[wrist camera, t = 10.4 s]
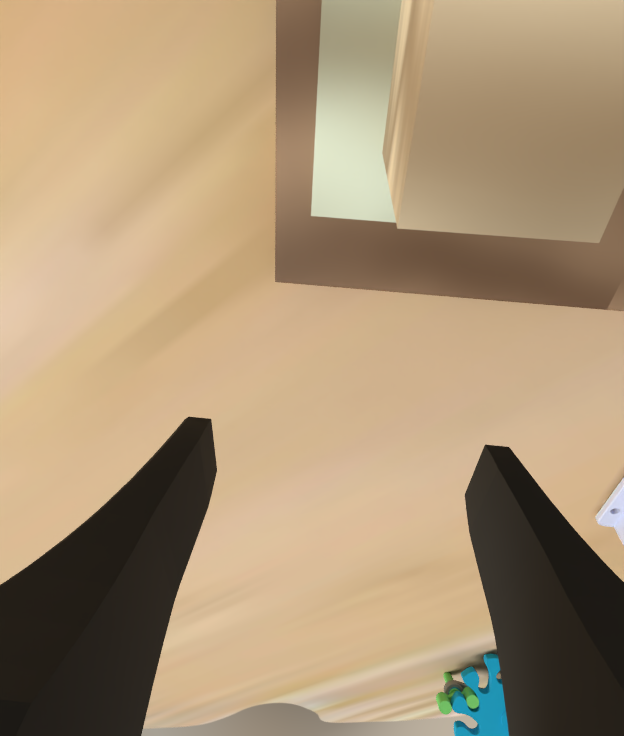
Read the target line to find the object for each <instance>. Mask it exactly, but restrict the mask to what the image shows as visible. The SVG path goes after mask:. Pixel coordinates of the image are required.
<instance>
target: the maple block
mask: <svg viewBox="0 0 624 736" xmlns="http://www.w3.org/2000/svg"><path fill="white" fill-rule="evenodd" d="M382 154H383V159H384V164H385V169H386V174H387V179H388V184H389V189H390V194H391V199H392V204H393V209H394V214H395V219H396V224H397V229H411V230H425V231H438V232H452V233H466V234H480V235H493V236H507V237H521V238H535V239H549V240H562V241H576V242H590V243H599V242H600V240H601V238H602V235H603V233H604V231H605V229H606V226H607V224H608V222H609V220H610V217H611V215H612V213H613V211H614V208H615V206H616V204H617V202H618V199H619V197H620V195H621V193H622V190H623V188H624V0H402V2H401V10H400V18H399V25H398V33H397V41H396V49H395V57H394V65H393V72H392V80H391V88H390V96H389V104H388V111H387V119H386V127H385V135H384V143H383V151H382Z"/></svg>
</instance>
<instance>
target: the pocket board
mask: <svg viewBox="0 0 624 736" xmlns="http://www.w3.org/2000/svg"><path fill="white" fill-rule="evenodd" d="M401 2H402V0H276V245H275V282H283V283H295V284H306V285H318V286H330V287H342V288H354V289H366V290H378V291H390V292H402V293H414V294H426V295H438V296H450V297H461V298H473V299H485V300H497V301H509V302H521V303H533V304H545V305H557V306H569V307H581V308H593V309H604V310H616V311H624V188H623V190H622V193H621V195H620V197H619V199H618V202H617V204H616V206H615V208H614V211H613V213H612V215H611V217H610V220H609V222H608V224H607V226H606V229H605V231H604V233H603V235H602V238H601V240H600V242H599V243H590V242H576V241H562V240H549V239H535V238H521V237H507V236H493V235H480V234H466V233H452V232H438V231H425V230H411V229H397V224H396V219H395V214H394V209H393V204H392V199H391V194H390V189H389V184H388V179H387V174H386V169H385V164H384V159H383V154H382V151H383V143H384V135H385V127H386V119H387V111H388V104H389V96H390V88H391V80H392V72H393V65H394V57H395V49H396V41H397V33H398V25H399V18H400V10H401Z"/></svg>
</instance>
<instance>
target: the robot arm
mask: <svg viewBox="0 0 624 736" xmlns="http://www.w3.org/2000/svg"><path fill="white" fill-rule="evenodd" d="M216 472H217V466H216V458H215V449H214V440H213V431H212V422H211V419H206V418H195V417H188V418H186V419H185V420H184V421H183V422H182V424H181V425H180V426H179V427H178V428H177V429H176V431H175V432H174V433H173V434H172V435H171V436H170V438H169V439H168V440H167V441H166V442H165V443H164V444H163V446H162V447H161V448H160V449H159V450H158V451H157V452H156V453H155V454H154V456H153V457H152V458H151V459H150V460H149V461H148V462H147V463H146V464H145V465H144V466H143V467H142V468H141V469H140V470H139V471H138V472H137V473H136V474H135V476H134V477H133V478H132V479H131V480H130V481H129V482H128V483H127V484H126V485H124V486H123V487H122V488H121V489H120V490H119V491H118V492H117V493H116V494H115V495H114V496H113V497H112V498H111V499H110V500H109V501H108V502H107V503H106V504H105V505H103V506H102V507H101V508H100V509H99V510H98V511H97V512H96V513H95V514H93V515H92V516H91V517H90V518H89V519H88V520H86V521H85V522H84V523H83V524H82V525H81V526H79V527H78V528H77V529H76V530H75V531H73V532H72V533H71V534H70V535H68V536H67V537H66V538H65V539H63V540H62V541H61V542H59V543H58V544H57V545H56V546H54V547H53V548H52V549H50V550H49V551H48V552H46V553H45V554H44V555H43V556H41V557H40V558H39V559H37V560H36V561H34V562H33V563H32V564H30V565H29V566H28V567H26V568H25V569H23V570H22V571H20V572H19V573H18V574H16V575H15V576H13V577H12V578H10V579H9V580H7V581H6V582H4V583H3V584H1V585H0V736H141V734H142V729H143V725H144V721H145V716H146V712H147V708H148V704H149V699H150V695H151V691H152V686H153V682H154V678H155V674H156V670H157V666H158V662H159V658H160V654H161V650H162V646H163V642H164V638H165V635H166V631H167V627H168V623H169V619H170V616H171V612H172V608H173V604H174V601H175V598H176V595H177V592H178V589H179V585H180V583H181V580H182V577H183V574H184V572H185V569H186V566H187V564H188V561H189V558H190V555H191V553H192V550H193V547H194V545H195V542H196V539H197V536H198V534H199V531H200V528H201V525H202V523H203V520H204V517H205V514H206V511H207V509H208V506H209V502H210V498H211V494H212V490H213V485H214V481H215V477H216ZM465 500H466V509H467V518H468V525H469V532H470V537H471V541H472V545H473V549H474V553H475V557H476V561H477V565H478V569H479V573H480V577H481V581H482V585H483V589H484V592H485V596H486V600H487V604H488V608H489V612H490V616H491V620H492V625H493V630H494V634H495V640H496V646H497V653H498V659H499V666H500V672H501V679H502V686H503V693H504V701H505V708H506V716H507V723H508V732H509V736H624V582H623V581H622V580H621V579H620V578H619V577H618V576H617V575H616V574H615V573H614V572H613V571H612V570H611V569H610V568H609V567H608V566H607V565H606V564H605V563H604V562H603V561H602V560H601V559H600V557H599V556H598V555H597V554H596V553H595V552H594V551H593V550H592V549H591V548H590V546H589V545H588V544H587V543H586V542H585V541H584V540H583V539H582V538H581V536H580V535H579V534H578V533H577V532H576V531H575V530H574V528H573V527H572V526H571V525H570V524H569V522H568V521H567V520H566V519H565V518H564V516H563V515H562V514H561V513H560V512H559V510H558V509H557V508H556V507H555V505H554V504H553V503H552V502H551V501H550V499H549V498H548V497H547V496H546V494H545V493H544V492H543V490H542V489H541V488H540V487H539V485H538V484H537V483H536V481H535V480H534V479H533V478H532V476H531V475H530V474H529V472H528V471H527V470H526V468H525V467H524V466H523V465H522V463H521V462H520V461H519V459H518V458H517V457H516V456H515V454H514V453H513V452H512V450H511V449H510V448H509V447H503V446H492V445H485V446H484V449H483V451H482V454H481V456H480V459H479V461H478V464H477V466H476V468H475V471H474V473H473V476H472V478H471V481H470V483H469V486H468V488H467V491H466V493H465ZM595 518H596V520H597V522H598V524H599V525H602V526H609V527H614V528H615V530H616V532H617V534H618V536H619V538H620V540H621V542H622V544H623V546H624V477H623V479H622V480H621V482H620V483H619V484H618V486H617V487H616V489H615V490H614V491H613V493H612V494H611V496H610V497H609V498H608V500H607V501H606V503H605V504H604V505H603V507H602V508H601V509H600V511H599V512H598V514H597V515H596V517H595Z"/></svg>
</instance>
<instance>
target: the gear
mask: <svg viewBox="0 0 624 736" xmlns="http://www.w3.org/2000/svg"><path fill="white" fill-rule="evenodd" d="M484 662H485V664H486V666H487V668H488V673H489V679H488V684H487V687H486V688H479V687H478V684H479V676H478V674H477V672H476V670H475V669H474V668H473V667H468V668H466V669H465V670H464V671H462V672H461V676H462V678H463V681H464V683H462V682H459V681H455V680H453V678H452V676H451V674H450V673H448V672H446V673H444V679H445V682H446V684H445V686H444V692H440V693H438V694H437V696H436V700H437V703H438V706H439V709H440V711H441V712H442V713H443V714H449V713H450V712H451V710H452V709H453V710H454V711H455V712H456V713H462V714H466V715H469V716H471V717H472V718H473V719H474V720H475V721H476V722H477V723H478V725H477V727H476V728H474V729H471V728H468V727H467V726H466V725H465V724H464V723H463V722H461V721H455V722H454V733H455V736H509V732H508V723H507V716H506V708H505V701H504V693H503V686H502V679H497V678H496V675H497V673H498V672H499V671H500V666H499V659H498V655H496V654H485V655H484Z"/></svg>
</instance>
